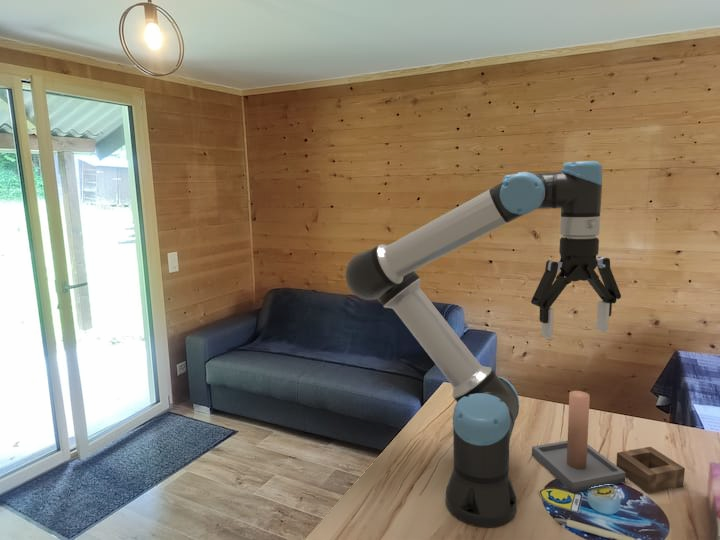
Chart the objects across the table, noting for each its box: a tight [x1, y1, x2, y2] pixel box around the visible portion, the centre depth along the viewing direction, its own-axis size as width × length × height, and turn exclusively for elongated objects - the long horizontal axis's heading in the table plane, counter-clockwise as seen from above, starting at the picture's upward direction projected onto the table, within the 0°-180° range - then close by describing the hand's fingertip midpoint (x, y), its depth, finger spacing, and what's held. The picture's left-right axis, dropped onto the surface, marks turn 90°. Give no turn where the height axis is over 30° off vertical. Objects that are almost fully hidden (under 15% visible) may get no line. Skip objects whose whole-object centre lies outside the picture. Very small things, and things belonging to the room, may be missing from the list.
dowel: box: [566, 390, 591, 469], centre depth 116 cm, size 4×4×18 cm
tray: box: [531, 440, 626, 494], centre depth 118 cm, size 14×16×2 cm
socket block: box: [615, 446, 686, 494], centre depth 113 cm, size 10×10×4 cm
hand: (575, 334), depth 104 cm, fingers open, 13 cm apart
